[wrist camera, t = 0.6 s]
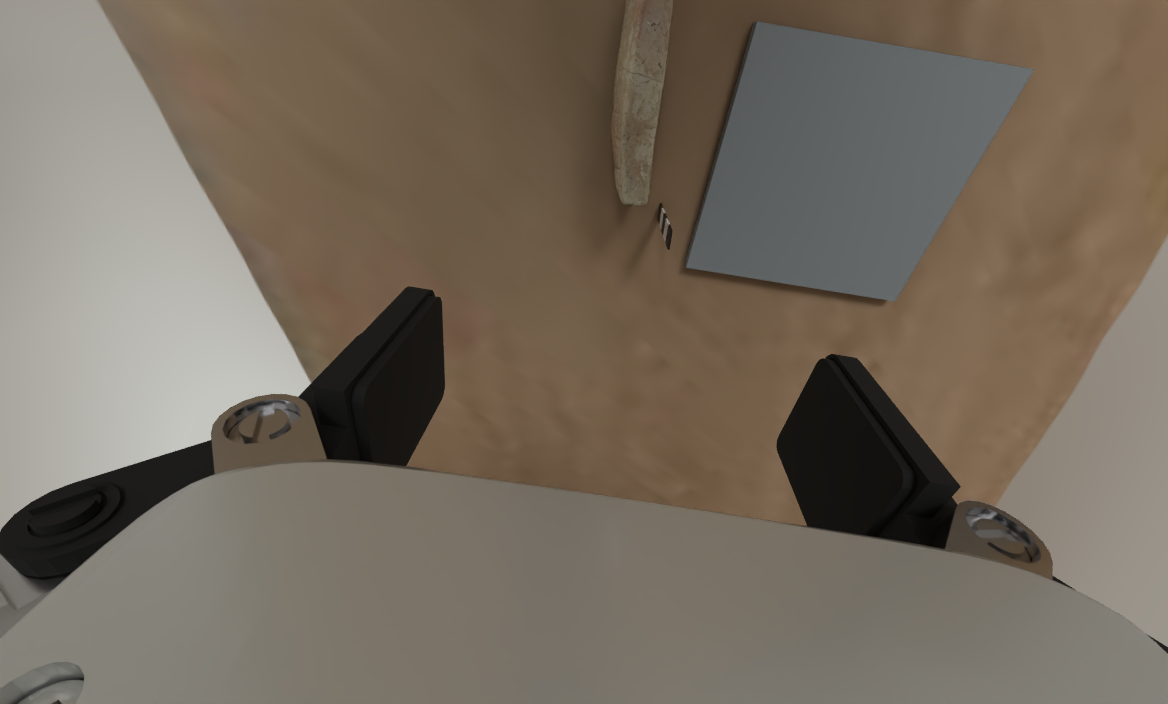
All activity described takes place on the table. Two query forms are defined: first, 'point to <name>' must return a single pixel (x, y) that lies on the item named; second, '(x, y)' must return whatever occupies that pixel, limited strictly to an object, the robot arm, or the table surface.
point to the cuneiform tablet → (640, 100)
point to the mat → (844, 159)
